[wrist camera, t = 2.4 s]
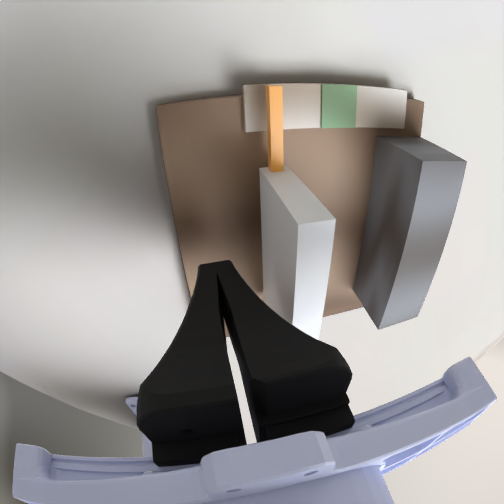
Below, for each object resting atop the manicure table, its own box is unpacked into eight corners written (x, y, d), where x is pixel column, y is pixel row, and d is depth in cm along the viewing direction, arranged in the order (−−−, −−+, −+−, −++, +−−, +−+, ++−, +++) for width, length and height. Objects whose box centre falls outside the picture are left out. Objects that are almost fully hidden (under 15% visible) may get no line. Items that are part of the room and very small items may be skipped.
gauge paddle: (284, 301, 18) (312, 369, 14) (263, 305, 17) (288, 375, 14) (285, 84, 11) (343, 101, 7) (255, 85, 11) (300, 101, 7)
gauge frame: (378, 294, 22) (407, 337, 18) (200, 331, 20) (209, 388, 16) (415, 90, 13) (475, 110, 10) (156, 94, 11) (144, 107, 8)
